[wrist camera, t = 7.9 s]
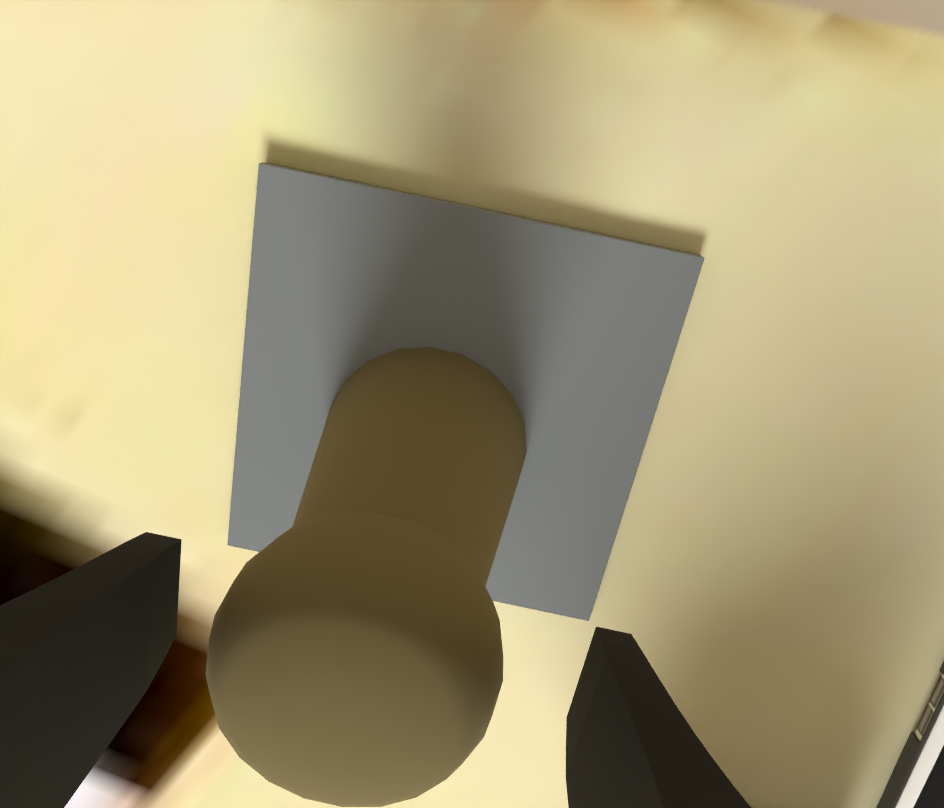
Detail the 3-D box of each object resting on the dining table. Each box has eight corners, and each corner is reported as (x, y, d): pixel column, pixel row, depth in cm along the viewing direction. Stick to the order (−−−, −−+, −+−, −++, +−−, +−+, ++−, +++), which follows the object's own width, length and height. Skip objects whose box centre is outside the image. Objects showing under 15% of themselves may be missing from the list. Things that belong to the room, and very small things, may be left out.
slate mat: (700, 255, 19) (704, 258, 19) (587, 611, 24) (588, 620, 23) (265, 162, 19) (259, 163, 19) (233, 536, 24) (227, 545, 23)
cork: (400, 560, 23) (300, 908, 13) (286, 411, 21) (67, 672, 11) (564, 475, 22) (598, 792, 11) (455, 307, 20) (380, 500, 10)
